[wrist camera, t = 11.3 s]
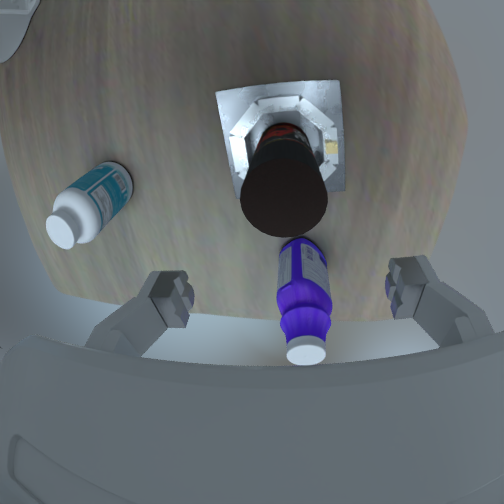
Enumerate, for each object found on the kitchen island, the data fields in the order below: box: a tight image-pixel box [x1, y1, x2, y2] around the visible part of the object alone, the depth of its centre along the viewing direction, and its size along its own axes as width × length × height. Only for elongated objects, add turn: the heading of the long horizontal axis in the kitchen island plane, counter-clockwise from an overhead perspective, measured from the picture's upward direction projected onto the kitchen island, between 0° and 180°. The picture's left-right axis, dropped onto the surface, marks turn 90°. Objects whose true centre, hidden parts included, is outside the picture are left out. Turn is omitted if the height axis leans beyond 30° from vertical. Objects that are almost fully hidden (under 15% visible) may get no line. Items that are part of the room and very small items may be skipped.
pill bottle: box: [46, 162, 133, 249], centre depth 30 cm, size 8×7×14 cm
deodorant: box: [240, 122, 328, 238], centre depth 24 cm, size 6×6×15 cm
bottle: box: [277, 238, 332, 365], centre depth 33 cm, size 7×6×17 cm
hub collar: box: [215, 80, 345, 199], centre depth 28 cm, size 14×14×5 cm
